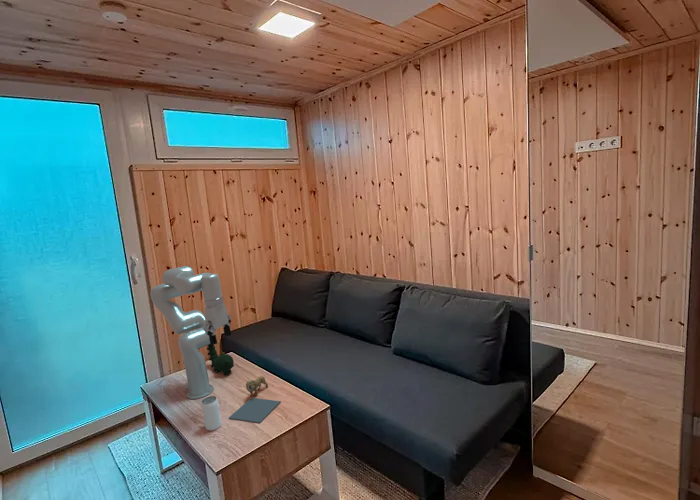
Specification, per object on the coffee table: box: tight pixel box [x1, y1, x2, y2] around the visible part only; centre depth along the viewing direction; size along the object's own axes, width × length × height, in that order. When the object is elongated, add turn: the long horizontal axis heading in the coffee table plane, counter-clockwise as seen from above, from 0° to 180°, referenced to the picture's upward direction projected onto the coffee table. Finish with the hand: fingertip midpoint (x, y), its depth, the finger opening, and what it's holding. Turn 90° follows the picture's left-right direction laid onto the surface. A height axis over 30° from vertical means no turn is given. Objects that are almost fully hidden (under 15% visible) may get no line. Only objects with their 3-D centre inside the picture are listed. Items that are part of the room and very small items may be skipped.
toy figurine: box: [206, 344, 235, 376], centre depth 210 cm, size 9×19×25 cm
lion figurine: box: [245, 375, 269, 398], centre depth 182 cm, size 15×5×9 cm, turn 163°
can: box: [201, 395, 223, 432], centre depth 158 cm, size 6×6×12 cm
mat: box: [228, 397, 282, 424], centre depth 167 cm, size 16×16×1 cm
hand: (221, 339), depth 168 cm, fingers open, 9 cm apart
